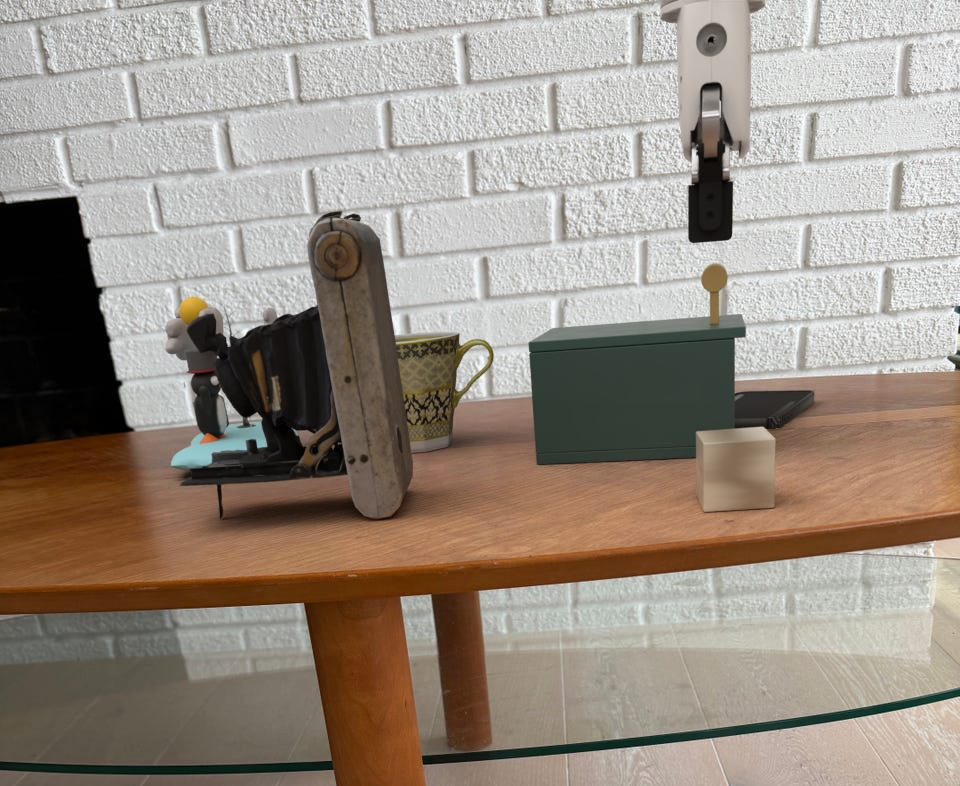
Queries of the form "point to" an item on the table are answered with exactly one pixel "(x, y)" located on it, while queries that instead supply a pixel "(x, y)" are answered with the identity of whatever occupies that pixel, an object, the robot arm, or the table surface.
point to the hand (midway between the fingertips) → (710, 241)
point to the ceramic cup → (432, 384)
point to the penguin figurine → (208, 390)
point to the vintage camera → (320, 380)
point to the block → (735, 469)
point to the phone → (770, 407)
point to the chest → (630, 400)
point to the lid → (651, 326)
